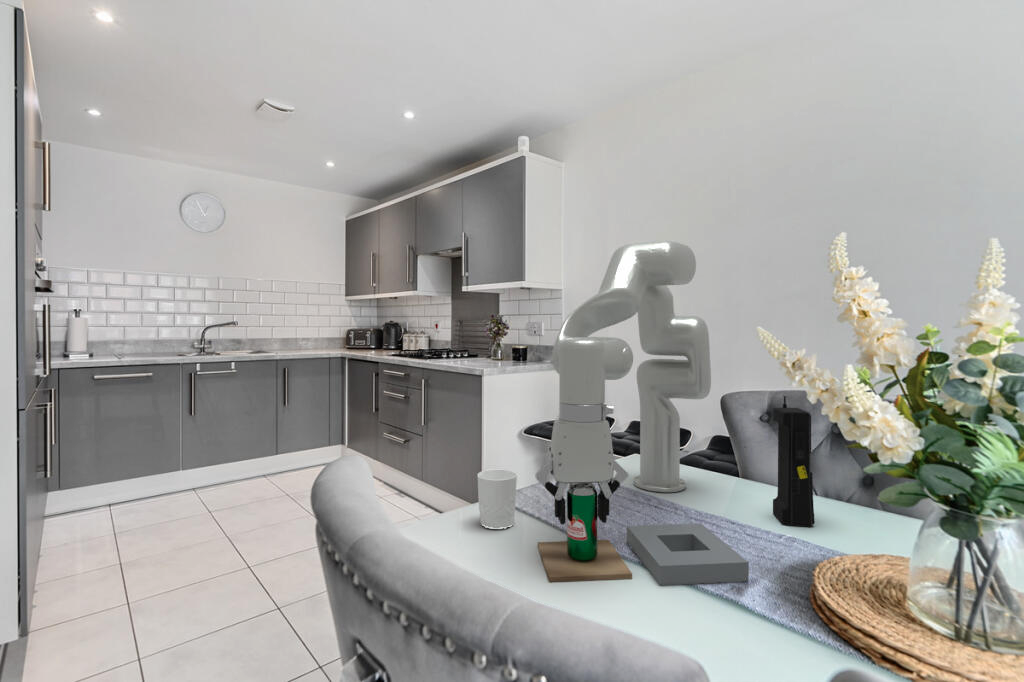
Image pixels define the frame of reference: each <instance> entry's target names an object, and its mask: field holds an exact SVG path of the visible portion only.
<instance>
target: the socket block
mask: <svg viewBox="0 0 1024 682" xmlns="http://www.w3.org/2000/svg"><path fill="white" fill-rule="evenodd" d="M627 542H628V543H629V544H630V546H631V547H632V548H631V547H630V546H629V547H630V548H631V550H632V549H633V550H634V551H633V550H632V551H633V552H634V554H635V553H636V554H637V555H636V554H635V555H636V556H637V558H638V559H639V558H640V559H641V560H640V559H639V560H640V562H641V563H642V562H643V563H642V564H643V565H644V567H645V569H647V570H648V572H649V573H650V575H651V576H652V577H653V578H654V579H655V581H656V582H657V584H658V585H659V586H677V585H678V586H680V585H681V586H683V585H685V586H686V585H699V583H707V584H719V583H718V582H729V583H743V581H744V583H746V582H745V581H749V576H750V575H749V574H750V572H749V569H750V568H749V561H748V560H747V559H745V558H744V557H743V556H742V555H740V554H739V553H738V552H737V551H736V550H735V549H733V548H732V547H731V546H729V545H728V544H727V543H726V542H725V541H723V540H722V539H720V538H719V537H718V536H717V535H716V534H714V532H712V531H711V530H709V528H707V527H706V526H704V525H703V524H702V523H701V522H700V523H699V522H698V523H673V524H669V523H668V524H645V525H644V524H643V525H626V543H627ZM628 543H627V544H628ZM629 544H628V545H629ZM716 582H717V583H716Z"/></svg>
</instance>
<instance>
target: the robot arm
mask: <svg viewBox="0 0 1024 682" xmlns="http://www.w3.org/2000/svg"><path fill="white" fill-rule="evenodd" d="M696 269H697V261H696V256H695V254H694V252H693V249H692V248H691V247H689V246H688V245H685V244H683V243H680V242H677V241H676V242H675V241H672V240H661V241H658V240H657V241H650V242H649V241H648V242H637V243H629V244H628V243H627V244H625V245H621V246H619V247H618V248H617V249H616V250H615V251H614V252H613V254H612V256H611V258H610V261H609V263H608V266H607V269H606V270H605V271H606V272H605V274H604V277H603V278H602V283H601V284H600V287H599V291H598V292H597V293H596V294H595V295H593V296H591V297H590V298H588V299H587V300H586V301H584V302H583V303H581V304H580V305H579V306H578V307H577V308H575V309H574V310H573V311H571V312H570V313H569V315H567V317H566V318H565V320H564V321H563V323H562V325H561V327H560V329H559V332H558V334H557V337H556V339H555V341H554V345H553V349H552V357H551V359H552V360H551V361H552V366H553V368H554V371H555V372H556V373H557V374H558V375H559V376H558V377H559V381H558V382H559V399H558V400H559V403H558V404H559V407H558V408H559V410H558V413H559V416H558V417H559V419H555V420H554V422H553V427H552V434H551V439H550V440H551V442H550V443H551V444H550V456H549V457H550V458H549V460H548V461H547V462H545V464H544V465H543V466H542V467H541V468H540V469H539V470H537V472H536V473H534V474H535V479H536V480H537V481H538V482H539V483H540V484H541V485H542V486H543V487H544V488H545V490H546V491H548V493H550V495H552V496H553V497H554V518H557V519H558V521H559V523H560V525H564V524H566V500H565V498H564V494H565V493H566V491H567V487H568V486H569V484H570V483H593V484H597V486H598V488H599V492H598V494H597V518H598V519H599V521H601V523H603V524H606V523H607V517H609V516H610V499H612V497H613V495H614V493H615V492H616V491H617V490H618V489H619V488H620V486H621V484H623V483H624V482H625V481H626V480H627V479H628V478H629V473H628V472H627V471H626V470H625V469H624V468H623V467H622V466H621V465H620V464H619V463H618V462H617V461H616V460H615V459H614V449H613V440H612V433H611V427H610V422H609V421H608V420H606V419H607V416H608V415H613V414H614V406H613V405H608V404H607V403H606V402H605V401H606V380H607V381H616V380H621V379H623V378H624V377H626V376H627V375H628V374H629V373H630V371H631V369H632V367H633V364H634V354H633V350H632V348H631V346H630V344H628V342H627V341H625V340H623V339H621V338H619V337H612V336H611V337H605V336H603V337H602V336H601V337H599V336H591V335H592V334H594V333H596V332H598V331H600V330H602V329H603V330H604V329H606V328H609V327H611V326H615V325H617V324H619V323H622V322H625V321H627V320H629V319H631V318H632V317H634V316H635V315H636V314H637V323H638V324H637V325H638V334H639V335H638V336H639V342H640V347H641V349H642V351H643V352H644V353H645V354H647V355H652V356H668V357H669V356H670V357H672V356H673V357H676V356H677V357H685V358H687V359H673V358H651V359H647V360H644V361H642V362H641V363H640V364H639V365H638V366H637V370H636V385H637V390H638V397H639V412H640V413H639V420H640V421H639V422H640V423H639V424H640V425H639V426H640V427H639V430H640V431H639V434H640V435H639V436H640V437H639V439H640V440H639V442H640V443H639V450H640V451H639V453H640V454H639V475H637V476H635V477H633V485H635V487H637V488H640V489H641V490H645V491H649V492H656V493H676V492H681V491H683V490H685V489H687V482H686V481H685V480H684V479H682V478H680V474H681V473H680V462H681V461H680V454H681V452H680V451H681V450H680V449H681V446H680V445H681V443H680V440H681V437H680V435H681V434H680V433H681V428H680V427H681V424H680V423H681V422H680V421H681V418H680V414H679V413H680V412H679V411H678V409H677V408H676V406H675V405H674V404H673V402H672V401H671V399H678V400H679V399H682V400H684V399H685V400H702V399H703V400H704V399H705V398H707V397H708V396H709V394H710V392H711V388H712V371H711V370H712V369H711V351H710V349H711V348H710V337H709V335H710V333H709V330H708V329H709V328H708V326H707V323H706V321H705V320H704V319H703V318H702V317H699V316H693V315H685V316H683V315H682V316H681V315H680V316H679V315H676V314H675V309H674V307H675V306H674V305H675V304H674V296H673V294H672V291H671V290H670V288H669V287H668V286H681V285H682V286H683V285H687V284H689V283H690V282H691V281H692V280H693V279H694V277H695V274H696ZM615 473H616V474H615ZM549 474H551V475H552V476H553V479H554V480H555V484H554V483H553V482H552V481H550V480H549V479H548V478H547V476H548V475H549ZM614 474H615V476H614Z"/></svg>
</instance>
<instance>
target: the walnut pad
mask: <svg viewBox="0 0 1024 682" xmlns="http://www.w3.org/2000/svg"><path fill="white" fill-rule="evenodd" d="M537 549H539V550H538V552H540V553H539V556H540V555H541V556H540V559H541V562H542V563H543V567H544V571H545V574H546V577H547V580H548V582H549V583H561V582H562V583H565V582H567V583H568V582H585V581H587V582H588V581H608V580H609V581H610V580H632V579H633V573H632V571H631V570H630V568H629V567H628V565H627V564H626V563H625V561H624V560H623V558H622V556H621V555H620V554H619V552H618V550H616V548H615V547H614V545H613V544H612V542H611V541H610V539H598V554H597V556H596V557H595V558H594V559H593V560H591V561H587V562H580V561H576V560H573V559H572V558H570V556H569V555H568V554H567V540H566V541H565V540H563V541H561V540H560V541H537Z"/></svg>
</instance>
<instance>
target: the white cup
mask: <svg viewBox="0 0 1024 682" xmlns="http://www.w3.org/2000/svg"><path fill="white" fill-rule="evenodd" d="M517 481H518V474H517V472H515V471H513V470H509V469H500V468H495V469H493V468H492V469H487V470H482V471H479V472H478V473H477V493H478V495H477V496H478V497H477V499H478V510H479V523H480V522H481V524H483V525H485V526H488V527H493V528H500V527H507V526H510V525H512V524H513V523H514V524H515V514H516V513H515V512H516V502H517V485H518V483H517ZM481 524H480V525H481ZM514 524H513V525H514Z"/></svg>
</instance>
